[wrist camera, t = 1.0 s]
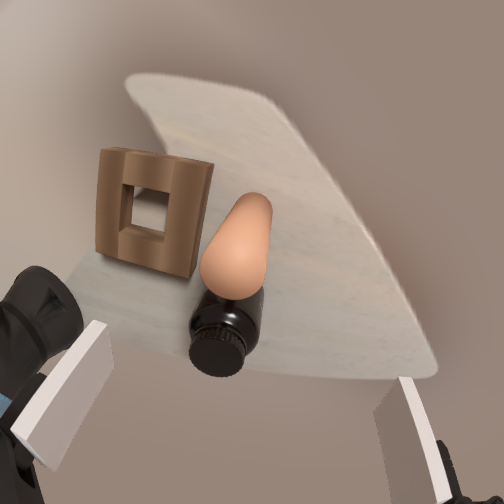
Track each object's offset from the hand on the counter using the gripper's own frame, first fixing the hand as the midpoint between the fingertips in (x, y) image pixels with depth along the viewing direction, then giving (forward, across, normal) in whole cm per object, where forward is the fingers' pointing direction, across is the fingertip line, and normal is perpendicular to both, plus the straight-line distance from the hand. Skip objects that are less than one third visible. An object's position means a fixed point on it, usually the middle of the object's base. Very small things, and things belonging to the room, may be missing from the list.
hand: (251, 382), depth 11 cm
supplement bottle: (+21, -2, -8) cm, 23 cm away
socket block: (+21, -13, 0) cm, 25 cm away
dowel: (+21, -2, +1) cm, 21 cm away
